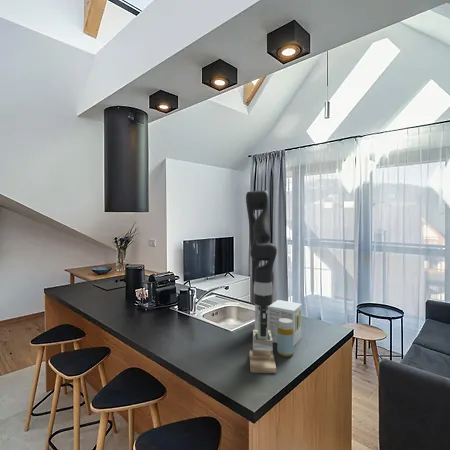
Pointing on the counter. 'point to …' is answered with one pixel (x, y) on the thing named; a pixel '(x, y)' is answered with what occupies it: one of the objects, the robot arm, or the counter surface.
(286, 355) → the bottle
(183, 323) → the counter surface
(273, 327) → the supplement box
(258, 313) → the rail post
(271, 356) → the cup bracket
